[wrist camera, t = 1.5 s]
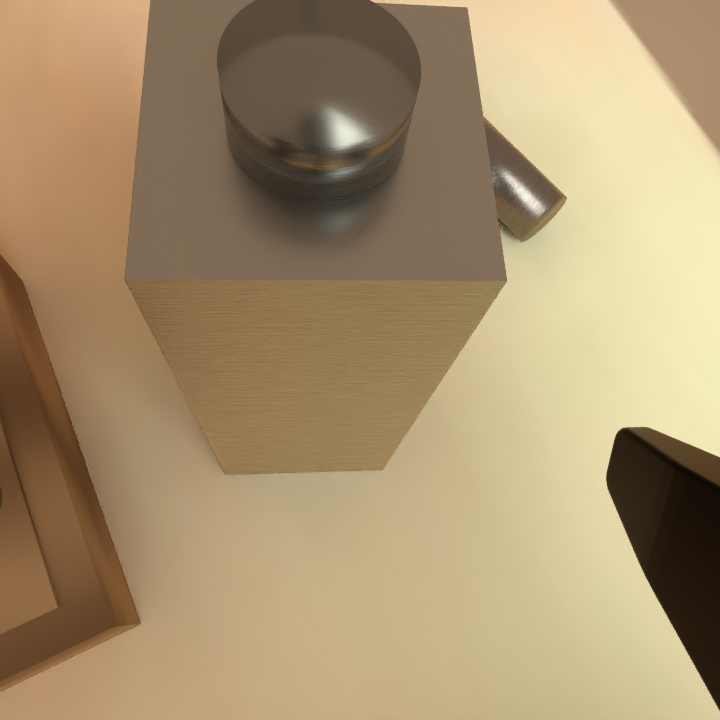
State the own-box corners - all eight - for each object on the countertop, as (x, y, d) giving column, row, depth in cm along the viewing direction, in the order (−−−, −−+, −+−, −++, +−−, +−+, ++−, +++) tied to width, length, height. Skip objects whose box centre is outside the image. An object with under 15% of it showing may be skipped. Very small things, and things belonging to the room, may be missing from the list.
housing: (382, 470, 21) (539, 232, 8) (225, 474, 20) (97, 228, 7) (373, 328, 22) (488, -64, 9) (229, 329, 22) (132, -87, 9)
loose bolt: (562, 213, 25) (601, 156, 22) (502, 258, 24) (533, 206, 21) (437, 90, 27) (457, 21, 23) (375, 128, 26) (387, 62, 22)
